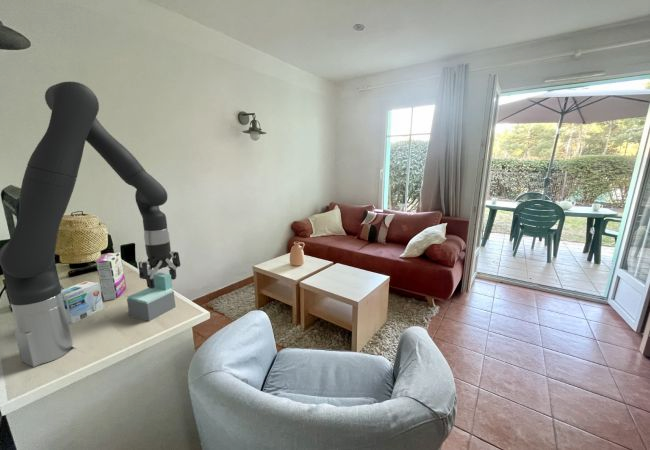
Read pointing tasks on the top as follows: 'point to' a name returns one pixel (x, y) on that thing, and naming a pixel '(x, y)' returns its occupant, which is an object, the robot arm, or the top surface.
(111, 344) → the top surface
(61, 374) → the top surface
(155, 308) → the tub
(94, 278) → the top surface
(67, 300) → the light bulb box
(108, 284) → the candy bar box
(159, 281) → the lid
